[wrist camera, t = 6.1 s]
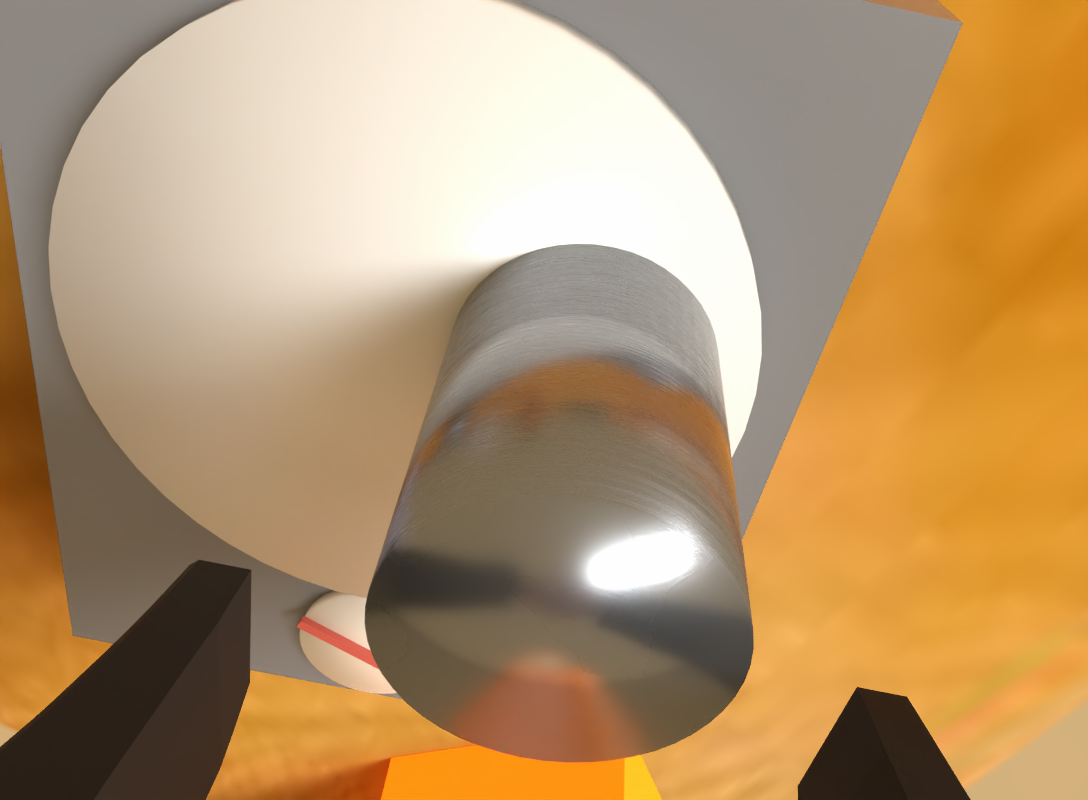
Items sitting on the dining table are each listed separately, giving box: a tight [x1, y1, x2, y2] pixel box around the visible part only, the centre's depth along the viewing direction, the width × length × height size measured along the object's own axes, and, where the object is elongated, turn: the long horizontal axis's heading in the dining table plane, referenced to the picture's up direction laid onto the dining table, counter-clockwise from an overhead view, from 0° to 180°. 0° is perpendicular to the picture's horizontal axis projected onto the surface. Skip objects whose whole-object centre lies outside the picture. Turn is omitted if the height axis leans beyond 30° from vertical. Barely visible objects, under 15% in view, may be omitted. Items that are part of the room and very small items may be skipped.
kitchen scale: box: [0, 0, 962, 699], centre depth 19 cm, size 17×14×4 cm
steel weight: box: [365, 244, 753, 763], centre depth 14 cm, size 4×4×6 cm
